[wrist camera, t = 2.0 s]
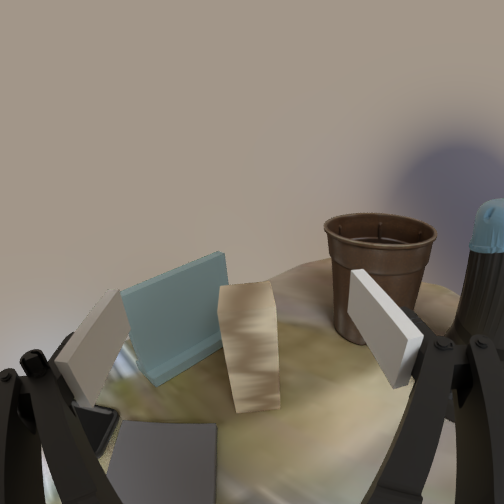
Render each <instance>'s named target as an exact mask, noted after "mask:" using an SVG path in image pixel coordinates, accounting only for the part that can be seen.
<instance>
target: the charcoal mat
mask: <svg viewBox="0 0 504 504" xmlns="http://www.w3.org/2000/svg"><path fill="white" fill-rule="evenodd" d="M217 429H218V428H217V425H216V423H208V424H179V423H154V422H139V421H128V420H123V421H122V424H121V427H120V431H119V434H118V437H117V440H116V443H115V447H114V450H113V453H112V457H111V460H110V464H109V467H108V471H107V474H106V476H107V478H108V480H109V481H110V483H111V485H112V486H113V488H114V490H115V491H116V493H117V495H118V496H119V498H120V500H121V501H122V503H123V504H215V501H216V458H217Z"/></svg>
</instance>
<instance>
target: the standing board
mask: <svg viewBox="0 0 504 504" xmlns="http://www.w3.org/2000/svg"><path fill="white" fill-rule="evenodd" d="M224 285H229V284H228V276H227V268H226V261H225V254H224V253H222V252H219V251H217V252H214V253H212V254H210V255H207V256H205V257H202V258H200V259H197V260H195V261H192V262H190V263H188V264H186V265H183V266H181V267H178V268H175V269H173V270H171V271H168V272H166V273H163V274H161V275H158V276H156V277H154V278H151V279H149V280H146V281H144V282H142V283H139V284H137V285H134V286H132V287H130V288H127V289H125V290H123V291H120V294H121V298H122V301H123V305H124V308H125V311H126V315H127V318H128V321H129V324H130V327H131V330H130V332H129V337H130V339H131V342H132V345H133V348H134V350H135V353H136V355H137V358H138V361H136V363H137V366H138V368H139V370H140V371H141V372H142V373H143V374H144V375H145V376H146V377H147V378H148V379H149V381H150V382H151V383H152V384H153V385H154V386H155V387H158V386H159V385H161V384H163V383H165V382H166V381H168V380H170V379H171V378H173V377H175V376H176V375H178V374H180V373H181V372H183V371H185V370H186V369H188V368H190V367H191V366H193V365H195V364H196V363H198V362H199V361H201V360H203V359H204V358H206V357H207V356H209V355H211V354H212V353H214V352H215V351H217V350H219V349H220V348H222V347H223V343H222V337H221V331H220V326H219V320H218V314H217V309H218V300H219V290H220V286H224Z"/></svg>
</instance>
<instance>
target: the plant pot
mask: <svg viewBox="0 0 504 504" xmlns="http://www.w3.org/2000/svg"><path fill="white" fill-rule="evenodd" d="M324 230H325V232H326V233H327V237H328V246H329V254H330V256H331V258H332V272H333V293H334V325H335V328H336V330H337V331H338V332H339V334H340V335H342V336H343V337H344V338H346V339H347V340H349V341H351V342H353V343H356V344H359V345H364V344H366V342H365V340H364V339H363V337H362V335H361V334H360V332H359V330H358V329H357V327H356V325H355V324H354V322H353V321H352V319H351V317H350V316H349V314H348V312H347V311H348V301H349V289H350V276H351V270H358V269H364V270H365V271H366V272H367V273H368V274H369V276H370V277H371V278H372V279H373V280H374V281H375V282H376V283H377V284H378V285H379V286H380V287H381V288H382V289H383V290H384V291H385V293H386V294H387V295H388V296H389V297H390V298H391V299H392V300H393V301H394V302H395V303H396V305H397V306H398V307H403V306H405V307H407V308H409V309H411V310H413V309H414V306H415V303H416V299H417V296H418V292H419V288H420V285H421V281H422V277H423V274H424V270H425V266H426V265H427V263H428V262H429V257H430V253H431V249H432V244H433V242H434V241H435V240H436V238H437V231H436V230H435V228H433V227H432V226H431V225H429V224H427V223H424V222H422V221H420V220H417V219H414V218H409V217H404V216H399V215H393V214H384V213H355V214H346V215H340V216H336V217H333V218H331V219H329V220H327V221H326V222H325V223H324Z"/></svg>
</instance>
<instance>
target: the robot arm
mask: <svg viewBox="0 0 504 504" xmlns="http://www.w3.org/2000/svg"><path fill="white" fill-rule="evenodd" d="M469 248H470V254H469V259H468V265H467V270H466V275H465V280H464V284H463V289H462V293H461V297H460V301H459V305H458V309H457V312H456V316H455V319H454V322H453V324H452V325H451V327H450V328H449V330H448V331H447V332H446V334H445V335H444V336H436V335H435V334H434V333H433V332H432V331H431V330H430V328H429V327H428V326H427V325H426V324H425V323H424V322H423V321H422V320H421V319H420V318H418V315H417V314H416V313H415V312H414V311H413V310H411V309H409V308H407V307H405V306H403V307H398V306H397V305H396V303H395V302H394V301H393V300H392V299H391V298H390V297H389V296H388V295H387V294H386V293H385V291H384V290H383V289H382V288H381V287H380V286H379V285H378V284H377V283H376V282H375V281H374V280H373V279H372V278H371V277H370V276H369V274H368V273H367V272H366V271H365V270H364V269H358V270H351V276H350V289H349V301H348V311H347V312H348V314H349V316H350V317H351V319H352V321H353V322H354V324H355V325H356V327H357V329H358V330H359V332H360V334H361V335H362V337H363V339H364V340H365V342H366V344H367V345H368V347H369V349H370V350H371V352H372V354H373V355H374V357H375V359H376V360H377V362H378V364H379V366H380V367H381V369H382V371H383V372H384V374H385V376H386V378H387V379H388V381H389V383H390V385H391V386H392V388H393V389H395V388H399V387H402V386H406V385H408V383H409V380H410V377H411V375H412V377H413V378H414V380H415V383H414V385H413V388H412V390H411V393H410V395H409V400H408V403H407V406H406V409H405V411H404V414H403V417H402V419H401V422H400V424H399V427H398V429H397V432H396V434H395V436H394V439H393V441H392V443H391V446H390V448H389V450H388V452H387V454H386V457H385V459H384V461H383V463H382V465H381V467H380V469H379V471H378V473H377V475H376V477H375V479H374V481H373V482H372V484H371V486H370V488H369V490H368V492H367V493H366V495H365V497H364V499H363V500H362V502H361V504H422V500H423V497H422V496H421V493H422V490H423V487H424V485H425V482H426V479H427V477H428V474H429V471H430V468H431V465H432V462H433V459H434V456H435V452H436V449H437V446H438V442H439V438H440V435H441V431H442V427H443V423H444V419H445V417H446V418H447V419H449V420H451V421H453V422H455V427H456V450H457V474H456V495H455V504H504V198H502V199H494V200H490V201H487V202H485V203H484V204H482V205H481V207H480V208H479V209H478V211H477V214H476V218H475V224H474V229H473V235H472V239H471V241H470V243H469ZM130 330H131V327H130V324H129V321H128V318H127V315H126V311H125V308H124V305H123V301H122V298H121V294H120V290H119V289H108V290H107V291H106V292H105V294H104V295H103V296H102V298H101V299H100V300H99V301H98V303H97V304H96V305H95V306H94V308H93V309H92V310H91V312H90V313H89V314H88V315H87V317H86V318H85V319H84V320H83V322H82V323H81V325H80V326H79V327H78V329H77V330H76V331H75V332H72V333H71V334H69V335H68V336H67V337H66V338H65V339H64V340H63V342H62V343H61V345H60V346H59V347H58V348H57V349H58V350H56V351H55V352H54V354H53V355H52V357H51V358H50V360H49V361H48V362H47V360H46V358H45V356H44V354H43V352H42V351H41V350H39V349H34V350H30V351H28V352H26V353H25V354H24V355H23V356H22V357H21V359H20V364H21V366H22V368H23V370H24V372H25V373H26V375H27V376H18V374H17V373H16V371H15V369H12V368H8V369H5V370H3V371H1V372H0V504H46V503H45V495H44V486H43V474H42V456H41V444H42V448H43V451H44V454H45V458H46V461H47V464H48V467H49V470H50V473H51V476H52V479H53V481H54V484H55V487H56V489H57V492H58V494H59V497H60V499H61V502H62V504H123V503H122V501H121V500H120V498H119V496H118V495H117V493H116V491H115V490H114V488H113V486H112V485H111V483H110V481H109V480H108V478H107V476H106V474H105V472H104V471H103V469H102V467H101V465H100V463H99V461H98V459H97V457H96V455H95V453H94V451H93V449H92V447H91V445H90V443H89V441H88V439H87V436H86V434H85V432H84V430H83V427H82V425H81V423H80V420H79V418H78V415H77V413H76V410H75V408H74V406H73V405H72V401H73V399H74V398H75V399H76V401H77V403H78V404H79V406H82V407H88V408H93V407H94V405H95V402H96V400H97V398H98V396H99V394H100V391H101V389H102V387H103V385H104V383H105V381H106V378H107V376H108V374H109V372H110V370H111V368H112V366H113V364H114V362H115V360H116V358H117V356H118V354H119V352H120V350H121V348H122V346H123V344H124V342H125V340H126V338H127V335H128V334H129V332H130Z"/></svg>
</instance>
